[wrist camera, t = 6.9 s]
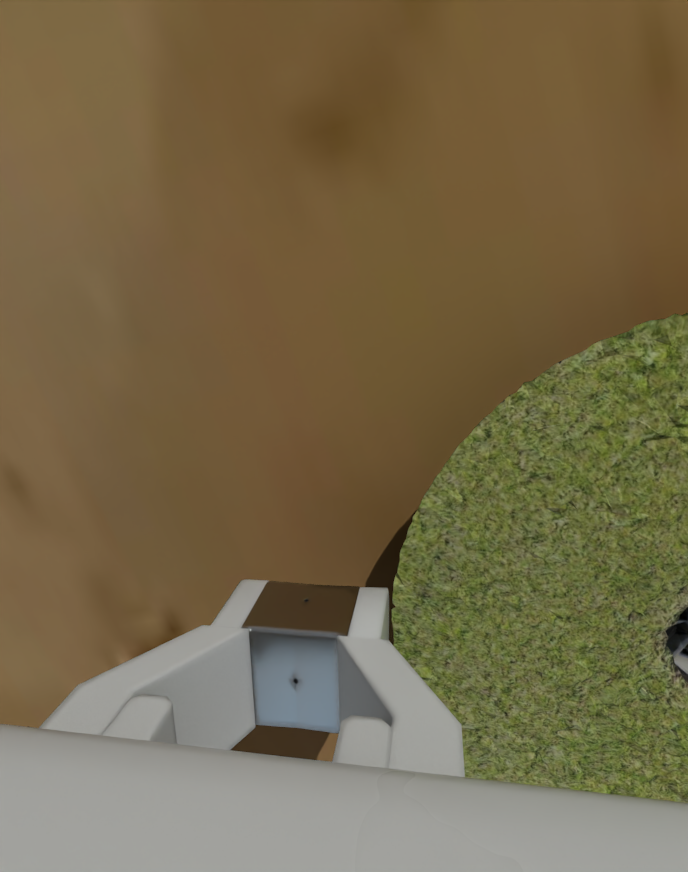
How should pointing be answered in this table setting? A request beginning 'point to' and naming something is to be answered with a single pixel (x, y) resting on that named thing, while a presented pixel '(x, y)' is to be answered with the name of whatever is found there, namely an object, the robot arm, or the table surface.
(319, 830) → the robot arm
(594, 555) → the green flat disc
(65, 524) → the table surface
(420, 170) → the table surface
